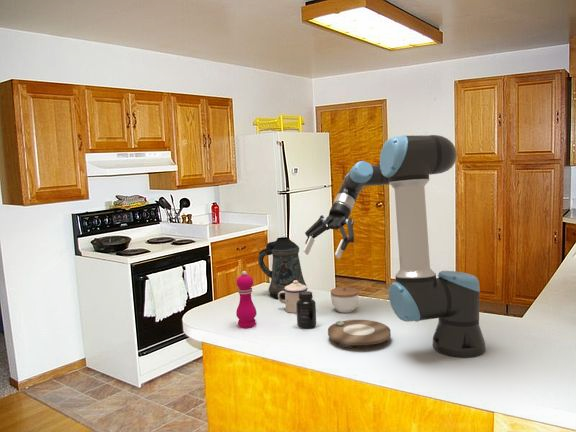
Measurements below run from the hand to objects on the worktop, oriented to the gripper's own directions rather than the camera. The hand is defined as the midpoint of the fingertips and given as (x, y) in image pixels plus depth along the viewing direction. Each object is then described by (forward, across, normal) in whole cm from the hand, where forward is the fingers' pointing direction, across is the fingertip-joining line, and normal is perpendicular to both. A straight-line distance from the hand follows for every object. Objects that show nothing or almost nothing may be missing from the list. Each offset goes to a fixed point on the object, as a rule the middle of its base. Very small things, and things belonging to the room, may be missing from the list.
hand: (320, 254), depth 179 cm
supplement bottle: (+24, 0, -10) cm, 26 cm away
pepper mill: (+31, +19, -3) cm, 37 cm away
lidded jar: (+9, -2, -26) cm, 27 cm away
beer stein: (+6, +30, -30) cm, 43 cm away
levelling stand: (+24, -22, -9) cm, 34 cm away
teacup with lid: (+16, +16, -19) cm, 29 cm away
